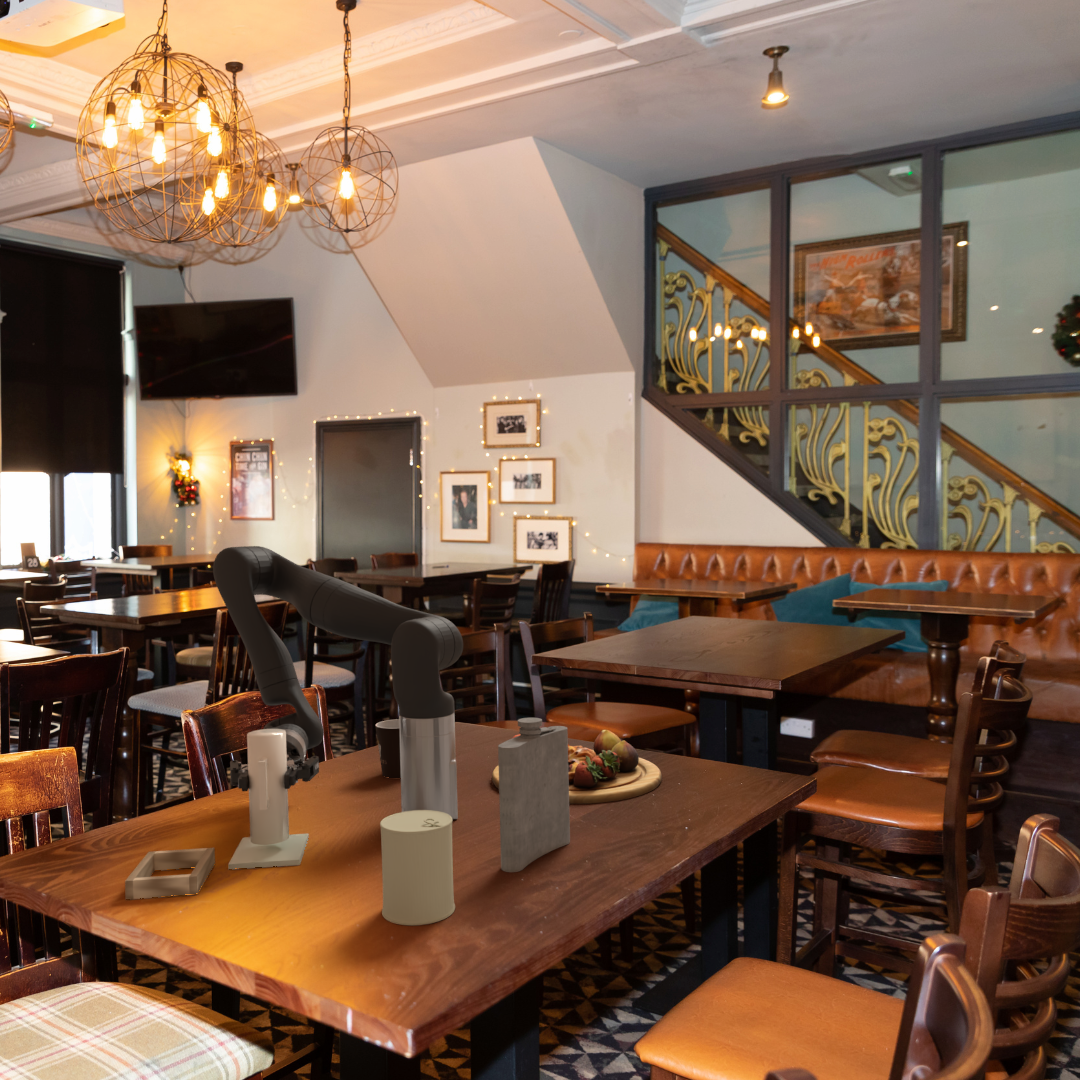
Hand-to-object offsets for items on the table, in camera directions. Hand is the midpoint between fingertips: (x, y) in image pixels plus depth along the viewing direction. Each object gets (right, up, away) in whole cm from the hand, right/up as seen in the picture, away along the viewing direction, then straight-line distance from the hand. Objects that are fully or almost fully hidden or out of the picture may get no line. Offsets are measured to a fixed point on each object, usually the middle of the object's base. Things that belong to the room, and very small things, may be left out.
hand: (265, 783), depth 144 cm
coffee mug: (+13, -10, +49) cm, 52 cm away
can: (+25, -11, -20) cm, 34 cm away
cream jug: (0, -9, +2) cm, 9 cm away
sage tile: (0, -11, +3) cm, 12 cm away
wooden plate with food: (+47, -10, +41) cm, 63 cm away
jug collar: (-11, -12, -8) cm, 18 cm away
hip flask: (+40, -11, 0) cm, 41 cm away
